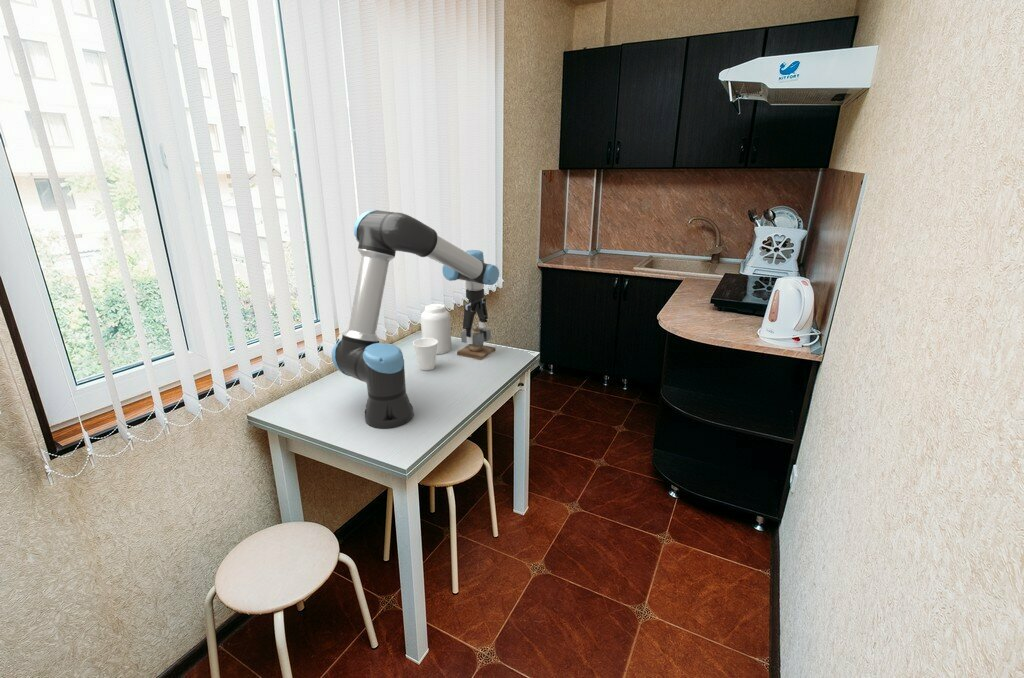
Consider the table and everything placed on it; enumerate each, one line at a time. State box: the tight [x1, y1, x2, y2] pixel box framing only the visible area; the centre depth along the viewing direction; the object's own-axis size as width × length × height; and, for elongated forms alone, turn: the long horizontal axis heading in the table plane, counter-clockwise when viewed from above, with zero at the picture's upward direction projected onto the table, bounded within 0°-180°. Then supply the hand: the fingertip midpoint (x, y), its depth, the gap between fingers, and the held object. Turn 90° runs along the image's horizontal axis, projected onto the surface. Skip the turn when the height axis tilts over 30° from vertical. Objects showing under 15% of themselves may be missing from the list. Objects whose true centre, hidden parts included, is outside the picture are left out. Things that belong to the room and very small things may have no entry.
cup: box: [412, 337, 438, 371], centre depth 187 cm, size 10×10×11 cm
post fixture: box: [456, 325, 496, 361], centre depth 202 cm, size 12×12×12 cm
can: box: [420, 303, 452, 355], centre depth 204 cm, size 12×12×20 cm
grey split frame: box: [460, 325, 492, 346], centre depth 201 cm, size 9×9×4 cm
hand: (476, 339), depth 202 cm, fingers open, 9 cm apart
